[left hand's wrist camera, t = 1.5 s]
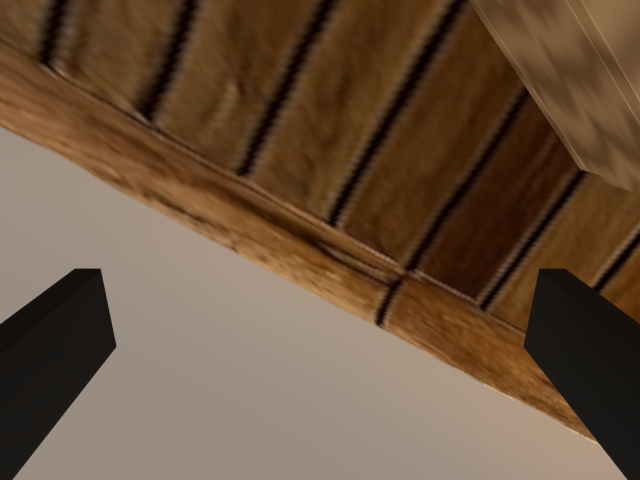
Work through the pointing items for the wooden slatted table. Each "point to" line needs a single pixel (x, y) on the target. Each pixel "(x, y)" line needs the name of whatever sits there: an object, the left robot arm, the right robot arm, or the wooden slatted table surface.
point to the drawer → (621, 184)
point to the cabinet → (578, 73)
